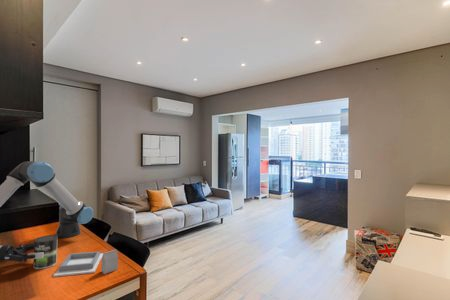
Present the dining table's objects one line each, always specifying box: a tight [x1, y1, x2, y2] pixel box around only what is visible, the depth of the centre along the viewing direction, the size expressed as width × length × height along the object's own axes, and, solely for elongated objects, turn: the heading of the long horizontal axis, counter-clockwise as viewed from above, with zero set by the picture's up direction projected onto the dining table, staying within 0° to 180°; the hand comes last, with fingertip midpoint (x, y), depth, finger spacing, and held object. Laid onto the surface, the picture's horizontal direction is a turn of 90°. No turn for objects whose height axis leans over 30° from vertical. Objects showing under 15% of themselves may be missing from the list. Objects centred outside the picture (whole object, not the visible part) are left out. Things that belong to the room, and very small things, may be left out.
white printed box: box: [100, 248, 119, 275], centre depth 124 cm, size 4×7×10 cm, turn 138°
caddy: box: [52, 251, 104, 278], centre depth 129 cm, size 22×18×3 cm
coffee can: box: [32, 234, 59, 270], centre depth 128 cm, size 10×10×14 cm
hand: (49, 249), depth 128 cm, fingers open, 13 cm apart
